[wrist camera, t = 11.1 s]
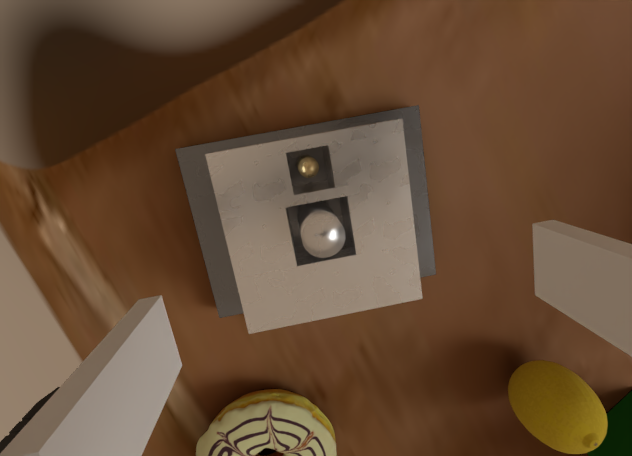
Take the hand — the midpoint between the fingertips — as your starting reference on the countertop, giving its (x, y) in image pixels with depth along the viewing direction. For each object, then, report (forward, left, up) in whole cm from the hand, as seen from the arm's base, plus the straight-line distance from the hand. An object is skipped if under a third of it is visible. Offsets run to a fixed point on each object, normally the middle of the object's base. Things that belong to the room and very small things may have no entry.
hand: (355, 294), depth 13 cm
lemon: (-15, +17, -15) cm, 27 cm away
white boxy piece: (0, 0, -13) cm, 13 cm away
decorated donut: (+7, +18, -15) cm, 25 cm away
